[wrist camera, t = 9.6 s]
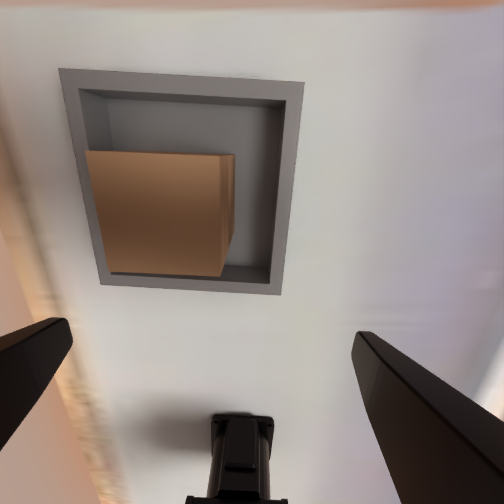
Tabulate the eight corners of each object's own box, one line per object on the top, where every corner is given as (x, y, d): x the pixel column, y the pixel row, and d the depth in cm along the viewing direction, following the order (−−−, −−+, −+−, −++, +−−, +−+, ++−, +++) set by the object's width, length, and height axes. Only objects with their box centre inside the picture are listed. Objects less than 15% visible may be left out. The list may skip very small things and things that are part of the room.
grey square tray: (277, 271, 20) (280, 295, 17) (126, 262, 20) (100, 284, 17) (294, 96, 15) (304, 82, 12) (100, 85, 15) (58, 68, 12)
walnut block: (234, 230, 18) (220, 276, 11) (163, 227, 18) (108, 271, 11) (235, 154, 16) (219, 156, 9) (156, 151, 16) (84, 150, 9)
